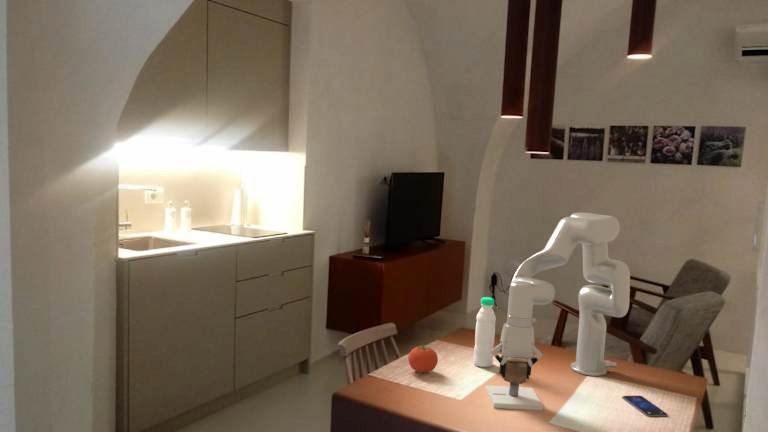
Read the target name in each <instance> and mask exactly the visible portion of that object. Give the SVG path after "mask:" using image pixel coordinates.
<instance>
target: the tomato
mask: <svg viewBox="0 0 768 432" xmlns="http://www.w3.org/2000/svg"><path fill="white" fill-rule="evenodd" d="M438 359H439V358H438V354H437V353H436V351H435V350H434V349H433V348H432V347H430V346H427V345H426V346H425V345H424V344H423V345H419V346H415V347H414V348H413V349H411V351H410V352H409V354H408V363H409V366H410V367H411V368H412V370H413V371H414V372H417V373H420V374H427V373H430V372H432V371H433V370H435V368H436V366H437V365H438V363H439V361H438Z"/></svg>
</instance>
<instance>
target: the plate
mask: <svg viewBox="0 0 768 432" xmlns="http://www.w3.org/2000/svg"><path fill="white" fill-rule="evenodd" d="M485 391H487V392H486V394H487V396H488V399H489V401H490V403H491V405H492V407H493V409H507V410H508V409H510V410H528V411H529V410H531V411H532V410H533V411H543V410H544V405H543V403H542V401H541V399H540V398H539V396H538V394H536V392H535V390H534V389H533V387H525V386H524V387H521V386H520V384H515V383H510V382H509V386H507V385H506V386H504V385H485Z"/></svg>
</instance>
